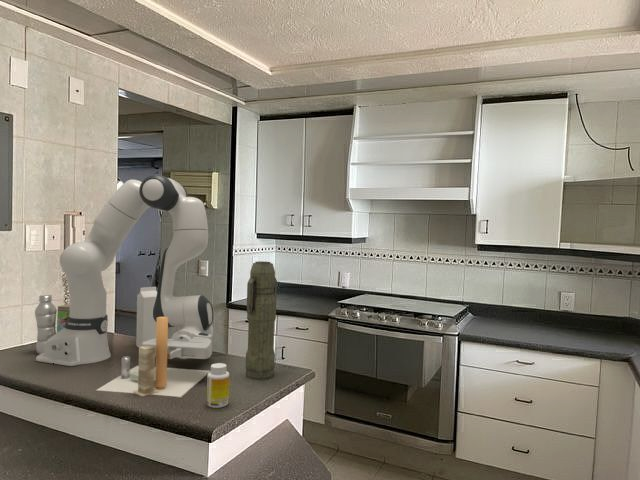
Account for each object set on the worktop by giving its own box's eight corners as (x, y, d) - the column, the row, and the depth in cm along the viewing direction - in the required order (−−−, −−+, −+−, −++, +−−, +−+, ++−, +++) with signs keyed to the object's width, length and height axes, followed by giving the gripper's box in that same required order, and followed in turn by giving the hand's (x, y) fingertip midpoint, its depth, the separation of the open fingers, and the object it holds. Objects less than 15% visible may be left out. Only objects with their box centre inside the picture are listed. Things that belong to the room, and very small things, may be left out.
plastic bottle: (62, 352, 165) (60, 294, 165) (43, 357, 159) (41, 296, 159) (50, 351, 168) (49, 294, 168) (31, 355, 162) (29, 296, 162)
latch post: (142, 398, 126) (143, 350, 125) (132, 393, 129) (133, 347, 129) (159, 393, 130) (160, 347, 129) (149, 388, 133) (150, 343, 132)
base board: (95, 391, 130) (95, 390, 130) (136, 366, 152) (137, 365, 152) (180, 397, 127) (180, 396, 127) (209, 371, 149) (209, 370, 149)
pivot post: (119, 378, 139) (119, 358, 139) (123, 376, 142) (124, 356, 142) (127, 379, 139) (127, 358, 139) (131, 376, 142) (131, 356, 141)
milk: (158, 347, 176) (160, 287, 175) (142, 349, 172) (143, 288, 171) (151, 343, 180) (153, 285, 179) (135, 346, 176) (137, 286, 175)
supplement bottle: (233, 404, 123) (234, 365, 123) (215, 410, 119) (216, 370, 119) (220, 398, 127) (221, 360, 127) (202, 404, 123) (203, 365, 123)
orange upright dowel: (127, 379, 138) (129, 313, 137) (136, 376, 140) (137, 311, 140) (160, 388, 131) (161, 319, 130) (168, 385, 133) (170, 317, 133)
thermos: (282, 372, 151) (285, 261, 149) (260, 383, 140) (264, 264, 139) (259, 367, 155) (262, 260, 153) (236, 377, 144) (239, 262, 143)
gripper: (153, 331, 149) (131, 342, 135) (217, 335, 146) (200, 346, 133) (153, 351, 149) (130, 364, 135) (216, 355, 147) (200, 369, 133)
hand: (166, 355), depth 134 cm, fingers closed
